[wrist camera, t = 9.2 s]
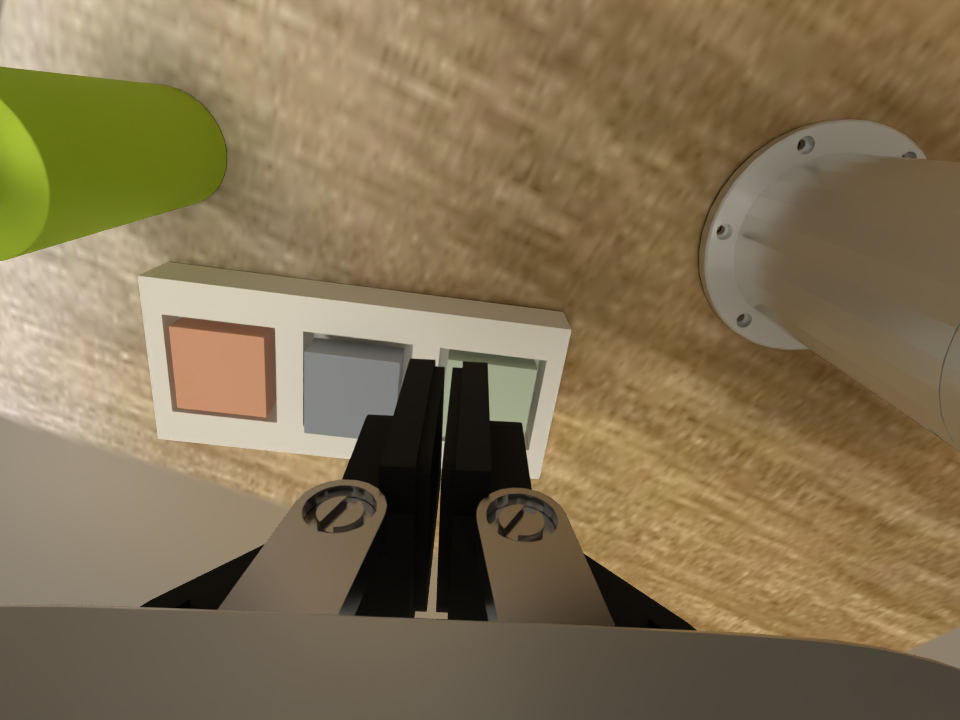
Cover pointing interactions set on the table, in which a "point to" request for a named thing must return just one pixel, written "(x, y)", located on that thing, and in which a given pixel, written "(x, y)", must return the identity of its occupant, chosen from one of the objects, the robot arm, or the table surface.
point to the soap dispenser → (97, 156)
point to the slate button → (349, 385)
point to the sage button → (498, 384)
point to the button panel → (337, 316)
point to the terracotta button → (224, 366)
